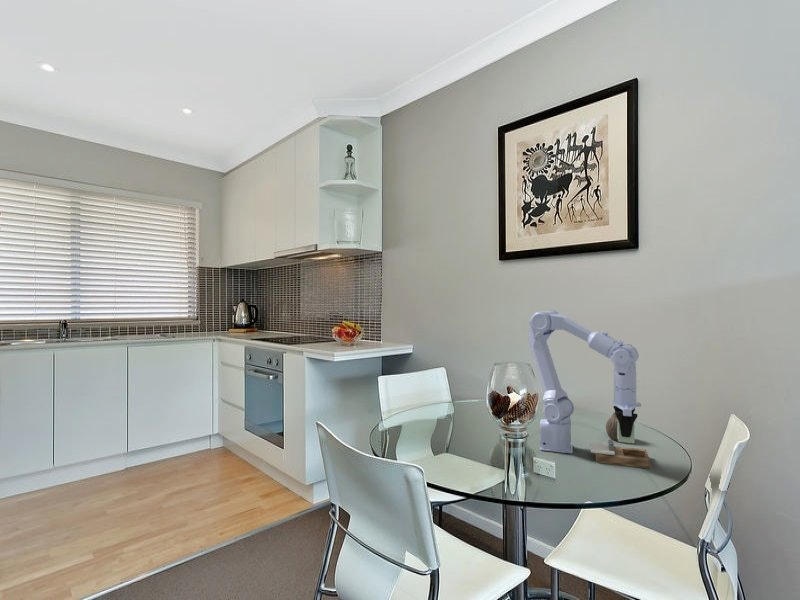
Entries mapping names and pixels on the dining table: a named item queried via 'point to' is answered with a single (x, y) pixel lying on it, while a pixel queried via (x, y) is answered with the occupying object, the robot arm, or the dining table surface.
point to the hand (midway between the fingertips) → (625, 434)
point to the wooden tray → (626, 457)
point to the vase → (612, 427)
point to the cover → (602, 447)
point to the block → (624, 439)
